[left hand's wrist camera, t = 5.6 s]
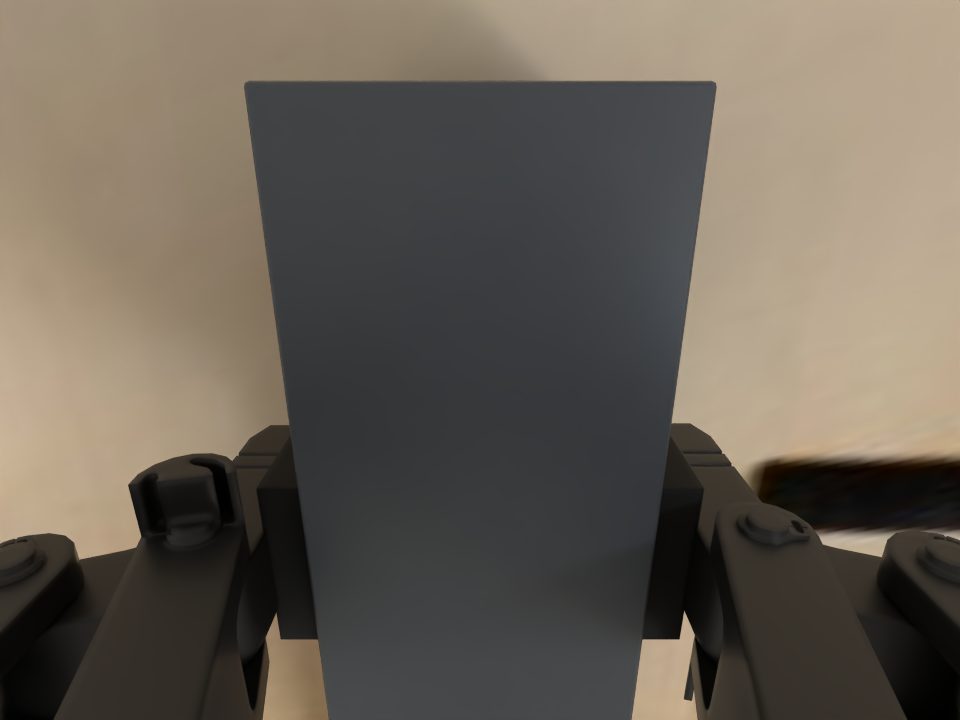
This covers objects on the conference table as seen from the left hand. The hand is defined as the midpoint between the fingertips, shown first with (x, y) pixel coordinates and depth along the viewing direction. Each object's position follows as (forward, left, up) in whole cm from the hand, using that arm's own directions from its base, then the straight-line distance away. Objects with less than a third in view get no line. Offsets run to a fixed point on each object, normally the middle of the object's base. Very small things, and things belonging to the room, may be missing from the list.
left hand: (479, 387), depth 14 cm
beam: (+16, +12, -1) cm, 20 cm away
